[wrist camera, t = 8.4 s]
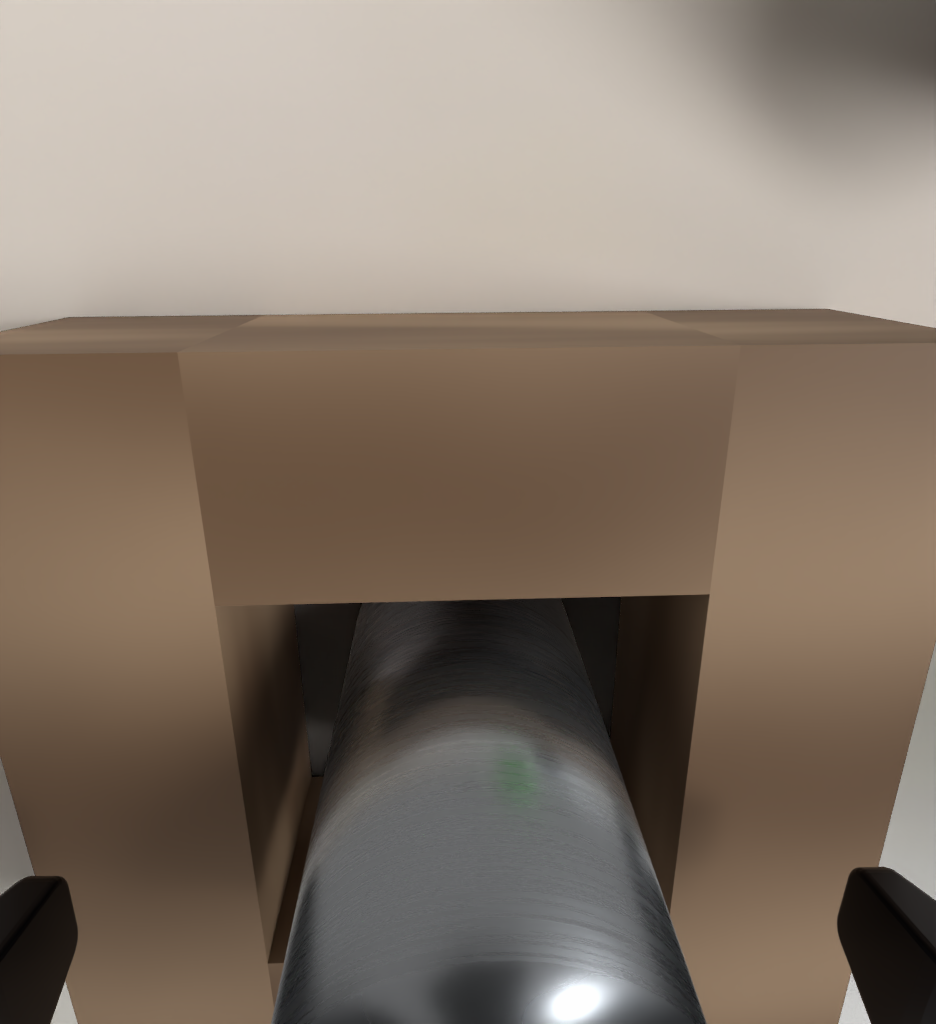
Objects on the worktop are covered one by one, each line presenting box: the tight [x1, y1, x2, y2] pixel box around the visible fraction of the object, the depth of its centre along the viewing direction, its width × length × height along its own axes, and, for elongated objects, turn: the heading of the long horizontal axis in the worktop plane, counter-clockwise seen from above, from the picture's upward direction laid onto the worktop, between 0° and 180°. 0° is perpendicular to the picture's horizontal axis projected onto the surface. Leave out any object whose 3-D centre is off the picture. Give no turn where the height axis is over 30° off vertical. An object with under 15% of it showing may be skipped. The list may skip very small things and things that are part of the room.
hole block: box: [0, 309, 936, 1024], centre depth 12 cm, size 12×12×4 cm
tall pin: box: [271, 598, 707, 1024], centre depth 10 cm, size 4×4×8 cm
